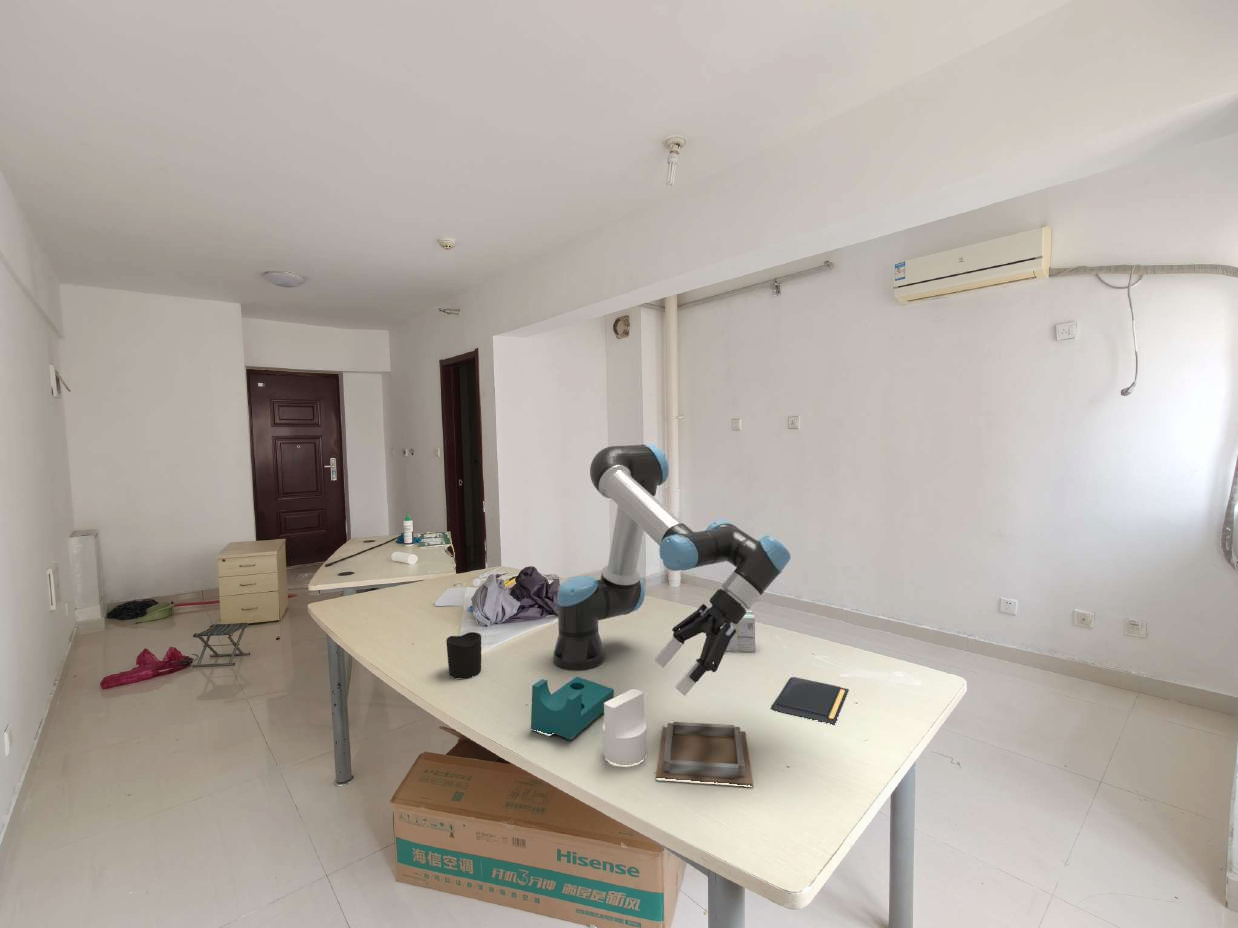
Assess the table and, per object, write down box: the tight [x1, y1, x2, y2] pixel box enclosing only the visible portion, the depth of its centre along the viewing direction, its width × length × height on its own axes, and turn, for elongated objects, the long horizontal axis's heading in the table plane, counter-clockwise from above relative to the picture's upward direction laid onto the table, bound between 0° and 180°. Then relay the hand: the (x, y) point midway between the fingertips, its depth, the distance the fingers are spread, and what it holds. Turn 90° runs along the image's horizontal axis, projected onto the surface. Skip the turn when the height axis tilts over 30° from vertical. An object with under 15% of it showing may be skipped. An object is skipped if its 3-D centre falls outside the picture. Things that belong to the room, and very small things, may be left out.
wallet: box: [770, 676, 850, 726], centre depth 136 cm, size 20×2×15 cm
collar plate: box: [655, 721, 754, 787], centre depth 113 cm, size 18×18×3 cm
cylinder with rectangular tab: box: [602, 688, 648, 765], centre depth 114 cm, size 9×9×12 cm
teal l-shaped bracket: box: [530, 676, 615, 741], centre depth 129 cm, size 18×11×10 cm, turn 150°
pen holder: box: [445, 631, 482, 679], centre depth 155 cm, size 9×9×10 cm
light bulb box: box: [725, 610, 756, 653], centre depth 169 cm, size 11×7×11 cm, turn 84°
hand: (668, 676), depth 116 cm, fingers open, 13 cm apart
